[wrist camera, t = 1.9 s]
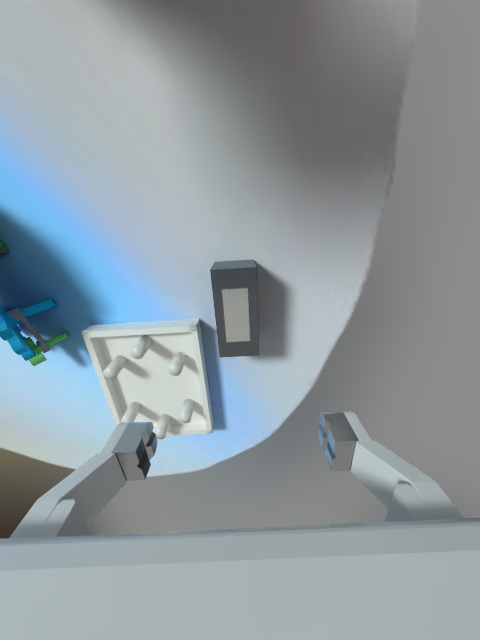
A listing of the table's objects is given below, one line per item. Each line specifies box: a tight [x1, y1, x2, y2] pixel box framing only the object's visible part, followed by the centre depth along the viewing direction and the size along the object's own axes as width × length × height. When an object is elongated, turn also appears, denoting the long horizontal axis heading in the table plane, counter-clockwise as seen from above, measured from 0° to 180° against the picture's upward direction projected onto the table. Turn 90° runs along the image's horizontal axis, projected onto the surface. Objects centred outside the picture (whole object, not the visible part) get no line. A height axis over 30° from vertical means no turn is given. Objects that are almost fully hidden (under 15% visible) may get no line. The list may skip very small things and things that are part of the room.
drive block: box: [210, 260, 259, 357], centre depth 26 cm, size 10×4×5 cm, turn 3°
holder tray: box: [81, 319, 214, 439], centre depth 31 cm, size 18×14×4 cm
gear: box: [0, 299, 69, 366], centre depth 26 cm, size 11×6×10 cm
